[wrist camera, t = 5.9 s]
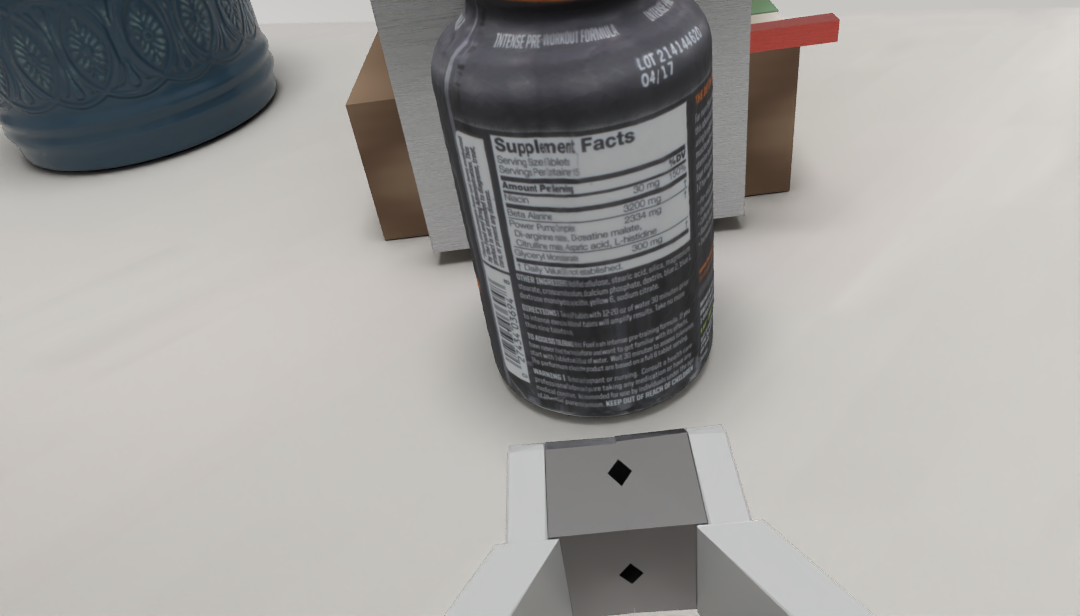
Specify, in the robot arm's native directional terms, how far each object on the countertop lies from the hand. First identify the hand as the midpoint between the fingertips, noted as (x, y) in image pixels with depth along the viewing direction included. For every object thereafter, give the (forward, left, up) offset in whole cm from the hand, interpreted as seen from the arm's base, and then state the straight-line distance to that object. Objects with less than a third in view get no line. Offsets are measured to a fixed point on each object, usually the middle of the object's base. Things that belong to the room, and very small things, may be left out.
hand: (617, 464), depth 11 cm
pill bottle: (0, +9, -6) cm, 11 cm away
